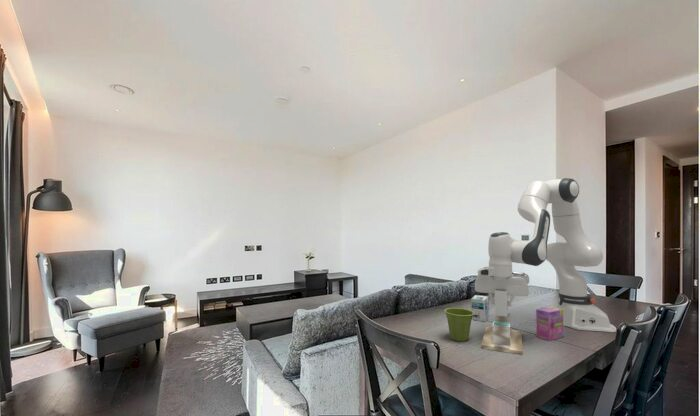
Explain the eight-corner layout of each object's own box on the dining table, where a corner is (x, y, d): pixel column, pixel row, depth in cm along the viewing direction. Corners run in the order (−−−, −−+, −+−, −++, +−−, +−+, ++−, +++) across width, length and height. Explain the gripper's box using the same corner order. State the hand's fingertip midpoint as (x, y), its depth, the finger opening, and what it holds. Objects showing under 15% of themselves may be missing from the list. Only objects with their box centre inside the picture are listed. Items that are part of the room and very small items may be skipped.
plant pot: (458, 345, 124) (458, 316, 125) (439, 336, 135) (438, 309, 135) (481, 341, 129) (480, 313, 129) (460, 332, 139) (459, 306, 140)
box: (550, 341, 129) (549, 311, 130) (536, 337, 134) (535, 308, 135) (564, 337, 134) (563, 308, 134) (550, 333, 139) (549, 305, 139)
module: (507, 312, 132) (507, 288, 133) (507, 316, 126) (506, 290, 127) (496, 311, 134) (495, 287, 135) (495, 315, 128) (494, 289, 129)
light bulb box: (485, 322, 155) (485, 299, 156) (471, 320, 159) (470, 298, 159) (489, 317, 164) (488, 296, 165) (475, 315, 168) (475, 294, 168)
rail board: (521, 333, 138) (520, 313, 138) (522, 354, 115) (521, 329, 115) (486, 328, 144) (486, 309, 145) (481, 348, 121) (480, 324, 122)
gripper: (528, 272, 129) (529, 306, 129) (475, 268, 139) (476, 300, 138) (529, 274, 124) (530, 309, 123) (473, 270, 133) (474, 303, 132)
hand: (501, 305), depth 131 cm, fingers closed on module, 4 cm apart
